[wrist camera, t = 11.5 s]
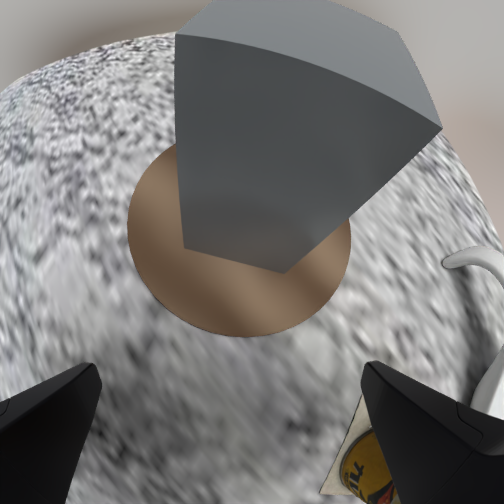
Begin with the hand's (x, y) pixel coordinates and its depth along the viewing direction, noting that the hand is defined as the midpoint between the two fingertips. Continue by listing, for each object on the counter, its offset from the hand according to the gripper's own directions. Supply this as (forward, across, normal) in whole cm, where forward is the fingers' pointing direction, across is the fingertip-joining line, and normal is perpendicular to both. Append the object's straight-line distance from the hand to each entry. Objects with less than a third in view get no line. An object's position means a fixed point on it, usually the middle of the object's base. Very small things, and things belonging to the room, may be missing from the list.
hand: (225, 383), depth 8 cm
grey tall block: (+12, -1, -4) cm, 13 cm away
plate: (+13, -1, -3) cm, 13 cm away
